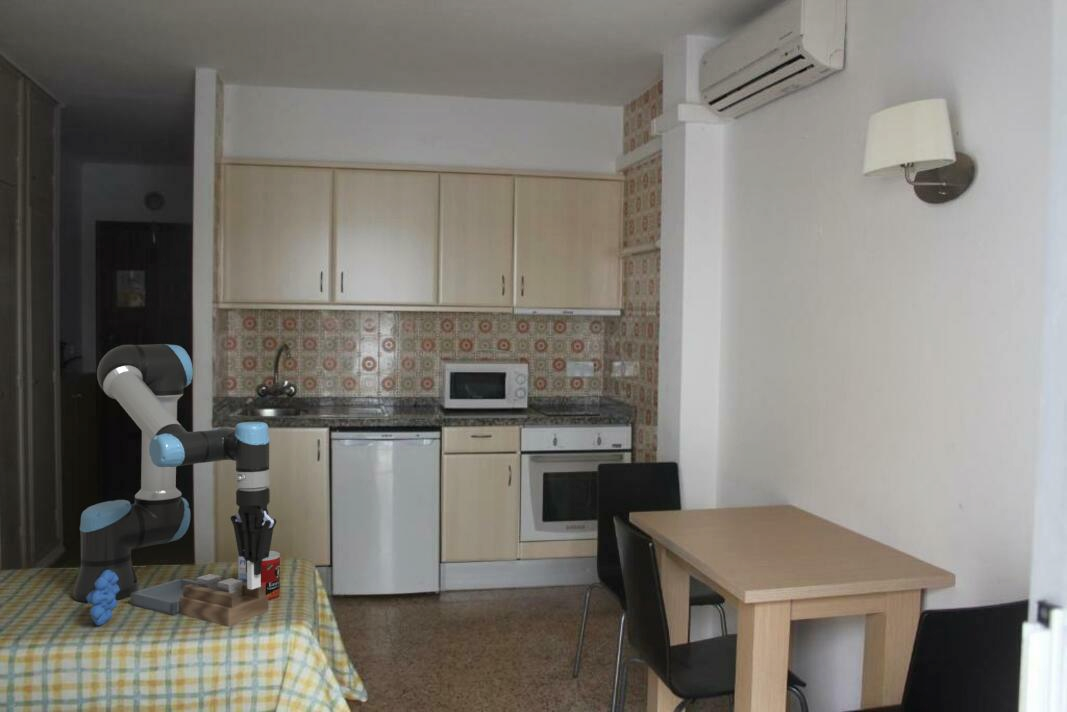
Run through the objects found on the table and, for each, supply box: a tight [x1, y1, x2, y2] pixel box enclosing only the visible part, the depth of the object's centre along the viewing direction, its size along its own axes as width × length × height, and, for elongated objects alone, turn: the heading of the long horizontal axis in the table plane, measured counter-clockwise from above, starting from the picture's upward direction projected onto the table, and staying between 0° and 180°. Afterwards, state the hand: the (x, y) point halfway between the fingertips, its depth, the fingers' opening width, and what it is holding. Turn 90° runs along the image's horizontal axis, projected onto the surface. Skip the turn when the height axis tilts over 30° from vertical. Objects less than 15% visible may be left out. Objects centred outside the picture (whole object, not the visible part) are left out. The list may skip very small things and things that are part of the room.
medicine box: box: [237, 553, 247, 582], centre depth 230 cm, size 8×4×9 cm, turn 77°
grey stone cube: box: [195, 573, 222, 590], centre depth 208 cm, size 4×4×4 cm
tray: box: [130, 577, 196, 616], centre depth 214 cm, size 16×15×3 cm
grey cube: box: [217, 577, 242, 598], centre depth 204 cm, size 4×4×4 cm
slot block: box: [179, 576, 269, 627], centre depth 205 cm, size 17×12×6 cm
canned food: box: [261, 550, 281, 601], centre depth 218 cm, size 8×8×11 cm
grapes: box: [86, 570, 120, 626], centre depth 198 cm, size 12×7×12 cm, turn 4°
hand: (254, 587), depth 200 cm, fingers closed
